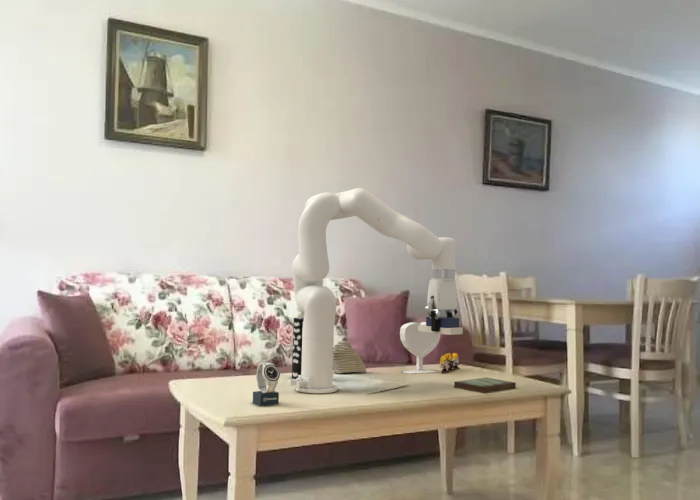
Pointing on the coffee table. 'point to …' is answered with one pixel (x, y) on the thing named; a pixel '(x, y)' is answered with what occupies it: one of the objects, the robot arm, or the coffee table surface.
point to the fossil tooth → (346, 359)
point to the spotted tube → (297, 347)
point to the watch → (271, 377)
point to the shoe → (443, 326)
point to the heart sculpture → (418, 344)
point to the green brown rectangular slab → (485, 385)
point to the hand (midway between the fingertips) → (442, 330)
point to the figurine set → (449, 362)
